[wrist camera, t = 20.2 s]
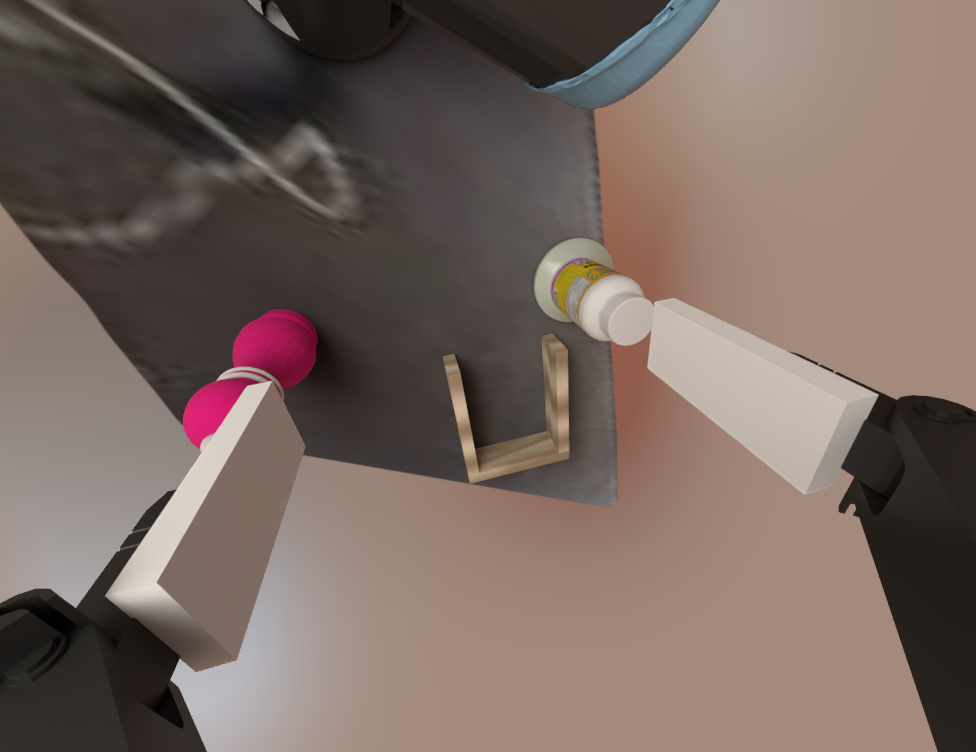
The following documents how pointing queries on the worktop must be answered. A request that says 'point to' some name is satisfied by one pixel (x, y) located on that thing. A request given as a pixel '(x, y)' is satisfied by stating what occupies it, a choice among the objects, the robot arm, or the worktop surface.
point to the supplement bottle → (602, 301)
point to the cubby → (524, 449)
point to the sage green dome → (555, 260)
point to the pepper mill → (254, 369)
